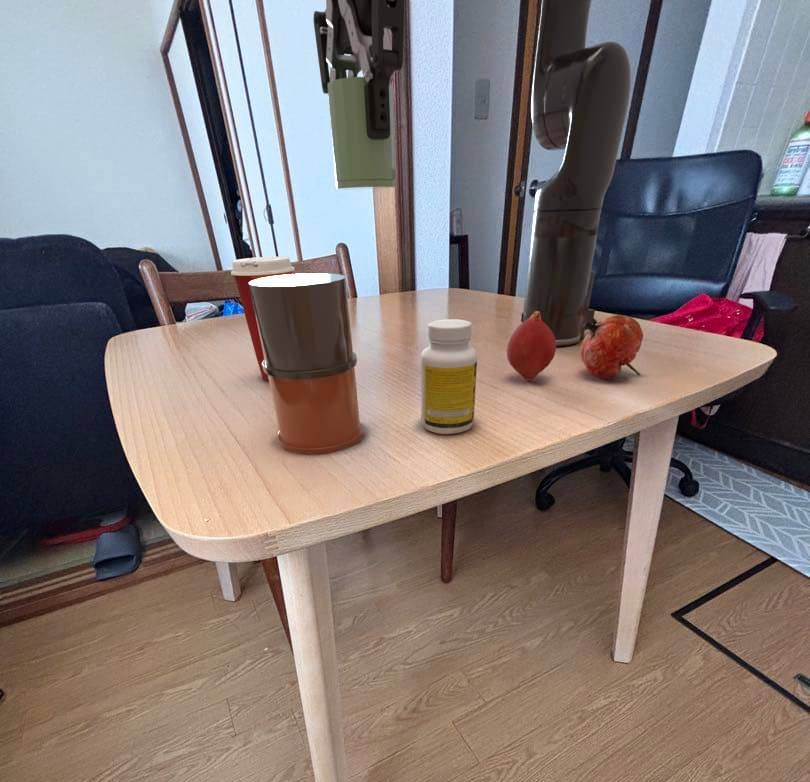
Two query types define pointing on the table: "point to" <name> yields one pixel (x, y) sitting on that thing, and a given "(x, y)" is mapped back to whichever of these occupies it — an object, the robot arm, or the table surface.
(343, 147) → the green cup
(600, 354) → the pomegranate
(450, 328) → the supplement bottle
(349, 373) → the cup stack
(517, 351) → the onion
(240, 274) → the paper cup
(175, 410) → the table surface
